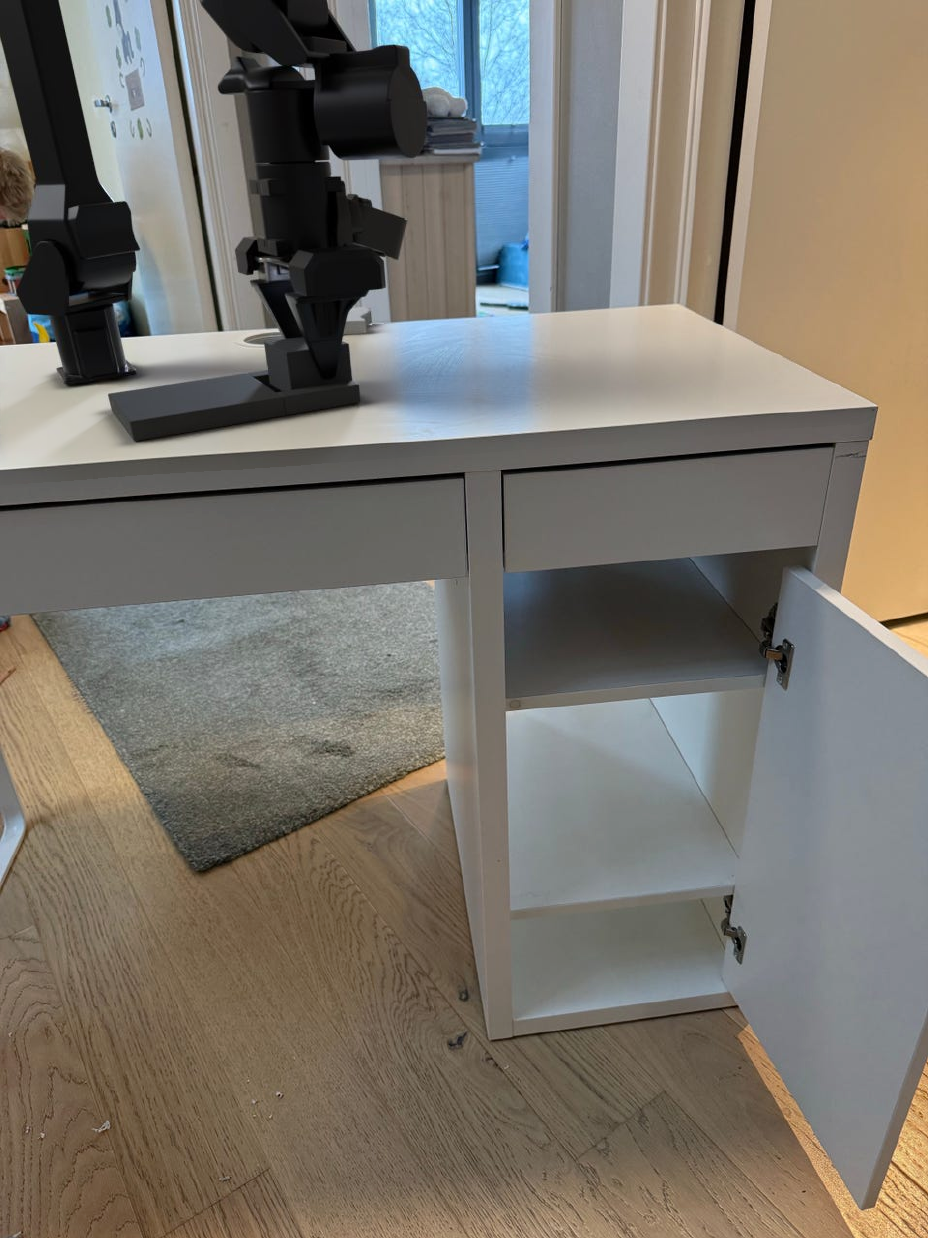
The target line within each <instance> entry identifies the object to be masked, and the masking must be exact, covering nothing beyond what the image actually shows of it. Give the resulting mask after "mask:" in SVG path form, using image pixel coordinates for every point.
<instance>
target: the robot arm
mask: <svg viewBox="0 0 928 1238" xmlns="http://www.w3.org/2000/svg"><path fill="white" fill-rule="evenodd" d="M198 1H199V3H200V6H201V7H202V8H203V10H204V11H205V12H206V13H207V14H208V16H209V17H210V18H211V19H212V20H213V22H214V23H215V24H216V26H218V29H220V30H221V32H222V33H223V34H224V35H225V36H226V38H227V39H229V41H230V42H231V43H232V44H233V45H234V46H235V47H237V48H239V49H240V50H242V51H243V52H247V53H250V54H251V53H252V54H260V55H267V56H268V57H269V58H270V59H272V60H273V61H274V62H276V63H277V64H278V65H273V66H261V64H259V62H258V61H257V60H256V58H254V57H249V56H240V55H236V56H235V57H234V58H233V62H232V65H231V67H230V68H229V69H228V71H227V72H226V73H225V74H224V76H223V77H222V78H221V80H220V81H219V82H218V84H217V91H218V93H219V94H220V95H226V96H244V99H245V106H246V114H247V121H248V128H249V136H250V143H251V144H250V145H251V152H252V158H253V164H254V171H255V172H254V173H255V174H254V175H255V178H251V179H250V178H249V179H248V183H249V185H248V186H249V192H250V195H258V202H259V210H260V217H261V224H262V225H261V226H262V232H263V235H256V236H254V235H253V236H244V237H242V239H241V240H240V241H239V243H238V244H237V246H236V247H235V248H234V253H235V254H234V255H235V261H236V267H237V273H239V274H242V275H245V276H254V272H255V271H257V274H258V278H256V279H251V280H249V283H250V285H251V288H253V289H254V290H255V292H256V294H257V296H258V298H259V299H260V300H261V302H262V304H263V305H264V308H265V309H266V310H267V312H268V314H269V316H270V318H271V319H272V321H273V323H274V324H275V326H276V328H277V329H278V331H279V333H280V335H281V337H282V339H289V338H297V337H304V340H305V342H306V344H307V347H308V349H309V351H310V353H311V356H312V358H313V360H314V362H315V364H316V367H317V369H318V371H319V373H320V375H321V377H322V378H323V379H332V378H335V377H336V373H337V368H338V362H339V357H340V351H341V345H342V341H343V340H344V339H343V338H344V335H345V334H344V329H345V324H346V320H347V316H348V313H349V311H350V309H351V308H354V306H355V305H356V304H357V303H358V302H359V301H360V300H361V298H365V297H367V296H368V295H369V292H370V291H376V290H383V289H386V288H387V283H386V282H387V281H386V271H385V260H384V259H383V258H386V257H388V258H391V259H393V260H394V261H399V259H400V254H401V250H402V245H403V242H404V237H405V233H406V229H407V224H408V219H407V218H405V217H402V216H400V215H396V214H394V213H392V212H388V211H386V210H382V209H380V208H377V207H374V206H373V202H372V200H371V199H370V198H367V197H366V198H364V197H361V196H359V194H356V193H347V188H346V183H345V180H342V176H341V175H333V173H332V164H331V163H332V162H331V152H332V153H333V155H334V156H335V157H336V158H338V159H339V160H342V161H375V160H397V159H398V160H399V159H400V160H401V159H415V158H417V157H418V156H420V155H419V154H420V153H421V152H422V150H423V147H424V145H425V143H426V137H427V132H428V104H427V103H428V102H427V101H426V100H425V99H424V94H423V90H422V86H421V83H420V80H419V78H418V76H417V73H416V72H415V70H414V69H413V68H412V66H411V57H410V56H411V54H410V49H409V47H408V46H406V45H401V44H395V43H393V44H382V45H378V46H376V47H373V48H370V49H367V50H366V49H365V50H357V49H356V48H355V46H354V45H353V43H352V42H351V40H350V39H349V37H348V35H346V33H345V31H344V30H343V28H342V26H341V25H340V24H339V22H338V21H337V19H336V17H335V16H334V14H333V13H332V11H331V10H330V7H329V3H328V0H198ZM0 42H1V46H2V51H3V54H4V59H5V62H6V63H5V64H6V67H7V71H8V74H9V78H10V83H11V87H12V90H13V95H14V98H15V102H16V107H17V110H18V114H19V118H20V123H21V127H22V129H23V130H22V131H23V135H24V138H25V143H26V146H27V150H28V155H29V159H30V162H31V166H32V171H33V174H34V179H35V188H34V192H33V195H32V199H31V203H30V207H29V210H28V214H27V218H26V223H27V232H28V238H29V245H30V253H31V255H30V257H29V259H28V261H27V263H26V266H25V269H24V271H23V273H22V275H21V277H20V280H19V282H18V285H17V287H16V289H15V293H16V296H17V298H18V299H19V302H20V303H21V305H22V307H23V309H24V311H25V313H26V314H27V315H31V316H48V317H49V321H50V324H51V328H52V332H53V336H54V339H55V343H56V344H55V345H56V348H57V352H58V355H59V359H60V364H61V366H58V367H56V373H57V374H58V377H59V378H60V380H61V381H62V383H63V385H75V384H81V383H82V384H83V383H89V382H90V383H91V382H98V381H104V380H110V379H118V378H119V379H120V378H125V377H132V376H137V375H138V373H137V369H136V368H135V367H134V366H133V365H132V364H131V363H130V362H129V361H128V360H127V359H126V356H125V351H124V346H123V341H122V337H121V334H120V329H119V324H118V319H117V315H116V311H115V306H114V304H118V303H123V302H124V303H128V302H131V301H132V296H133V279H134V273H135V272H136V271H137V264H138V263H137V253H136V252H140V251H141V248H140V246H139V243H138V241H137V238H136V236H135V231H134V226H133V219H132V211H131V208H130V206H129V204H128V202H127V201H125V200H121V201H114V200H113V197H112V196H111V195H110V194H109V193H108V191H107V190H106V189H105V187H104V186H103V185H102V183H101V182H100V179H99V177H98V174H97V169H96V165H95V160H94V155H93V151H92V146H91V142H90V136H89V132H88V128H87V124H86V119H85V113H84V109H83V105H82V99H81V96H80V91H79V87H78V83H77V77H76V73H75V69H74V65H73V64H74V63H73V59H72V54H71V50H70V45H69V41H68V37H67V32H66V27H65V23H64V17H63V13H62V9H61V5H60V1H59V0H0ZM296 68H301V69H312V70H314V71H313V72H314V79H305V77H304V76H303V75H302V73H301V72H300V71H299V70H298V69H296ZM330 150H331V152H330Z"/></svg>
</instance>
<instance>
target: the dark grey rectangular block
mask: <svg viewBox="0 0 928 1238" xmlns="http://www.w3.org/2000/svg"><path fill="white" fill-rule="evenodd" d="M263 346H264V353H265V359H266V366H267V370H268V375H269V382H270V384H271V385H273V386H275V387H276V388H278V389H280V390H279V391H280V392H282V391H288V390H294V389H300V388H307V387H313V386H319V385H325V384H332V383H338V382H344V381H353V373H352V363H351V352H350V351H351V350H350V344H349V343H348V342H346V341H343V340H342V345H341V351H340V357H339V362H338V368H337V373H336V377H335V378H332V379H323V378H322V377H321V375H320V373H319V371H318V369H317V367H316V364H315V362H314V360H313V358H312V356H311V353H310V351H309V349H308V347H307V344H306V342H305V340H304V337H297V338H289V339H284V338H282V339H276V340H269V341H264V342H263Z"/></svg>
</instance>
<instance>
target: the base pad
mask: <svg viewBox="0 0 928 1238" xmlns="http://www.w3.org/2000/svg"><path fill="white" fill-rule="evenodd" d="M360 391H361V390H360V384H359V383H357V382H355V381H353V380H352V381H344V382H338V383H332V384H325V385H319V386H313V387H307V388H300V389H294V390H288V391H281V390H280V389H278V388H276V387H275V386H273V385H271V384H270V382H269V375H268V369H264V370H258V371H251V372H245V373H237V374H232V375H223V376H218V377H211V378H204V379H197V380H191V381H184V382H176V383H171V384H164V385H163V384H162V385H156V386H150V387H143V388H136V389H130V390H124V391H123V390H122V391H117V392H110V393H108V394H107V397H108V400H109V405H110V409H111V412H112V414H114V416H115V417H116V419H117V420H118V421H119V423H120V424H121V426H122V427H123V428H124V429H125V431H126V432H127V434H128V435H129V436H130V438H131V439H132V440H133V442H140V441H141V442H142V441H145V440H146V441H147V440H153V439H157V438H158V439H159V438H163V437H169V436H176V435H181V434H182V435H183V434H187V433H193V432H198V431H204V430H210V429H216V428H222V427H227V426H234V425H240V424H244V423H245V424H246V423H250V422H251V423H252V422H256V421H257V422H258V421H262V420H268V419H273V418H279V417H285V416H291V415H292V416H293V415H297V414H303V413H309V412H315V411H320V410H326V409H331V408H338V407H343V406H350V405H355V404H361V402H362V401H361V400H362V399H361V392H360Z"/></svg>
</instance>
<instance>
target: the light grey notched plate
mask: <svg viewBox="0 0 928 1238" xmlns="http://www.w3.org/2000/svg"><path fill="white" fill-rule="evenodd" d="M372 323H373V318H372V308H371V307H369V306H359V307H352V308H351V309H350V311H349V313H348V316H347V320H346V324H345V329H344V334H343V335H361V334H362V335H363V334H364V335H365V334H367V327H368V326H369V325H371V324H372Z"/></svg>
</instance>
